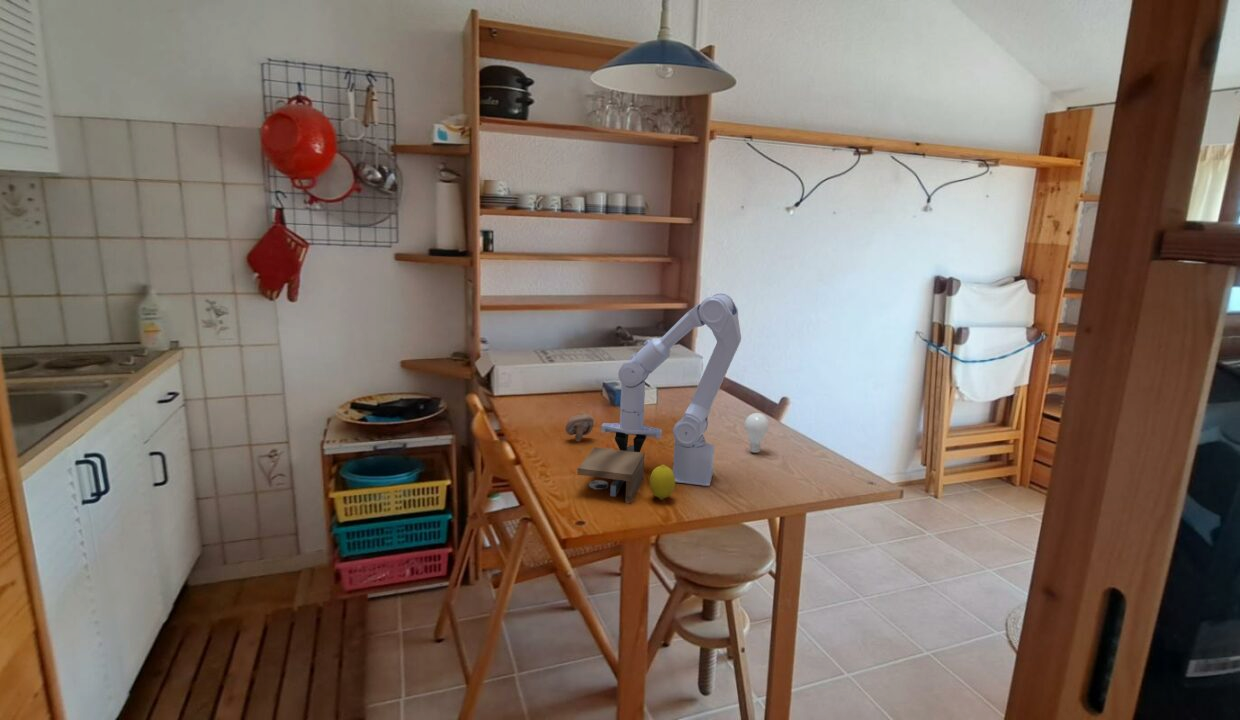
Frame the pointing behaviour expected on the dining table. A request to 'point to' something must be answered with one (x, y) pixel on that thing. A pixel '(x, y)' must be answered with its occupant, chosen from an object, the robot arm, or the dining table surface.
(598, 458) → the shelf
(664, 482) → the lemon
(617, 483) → the scraper
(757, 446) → the lightbulb
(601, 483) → the token
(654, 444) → the dining table surface
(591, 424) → the mushroom
